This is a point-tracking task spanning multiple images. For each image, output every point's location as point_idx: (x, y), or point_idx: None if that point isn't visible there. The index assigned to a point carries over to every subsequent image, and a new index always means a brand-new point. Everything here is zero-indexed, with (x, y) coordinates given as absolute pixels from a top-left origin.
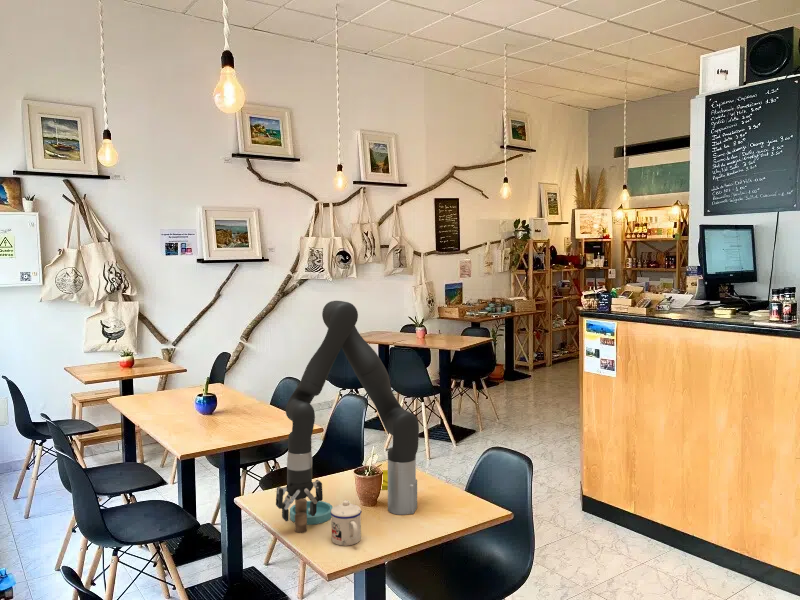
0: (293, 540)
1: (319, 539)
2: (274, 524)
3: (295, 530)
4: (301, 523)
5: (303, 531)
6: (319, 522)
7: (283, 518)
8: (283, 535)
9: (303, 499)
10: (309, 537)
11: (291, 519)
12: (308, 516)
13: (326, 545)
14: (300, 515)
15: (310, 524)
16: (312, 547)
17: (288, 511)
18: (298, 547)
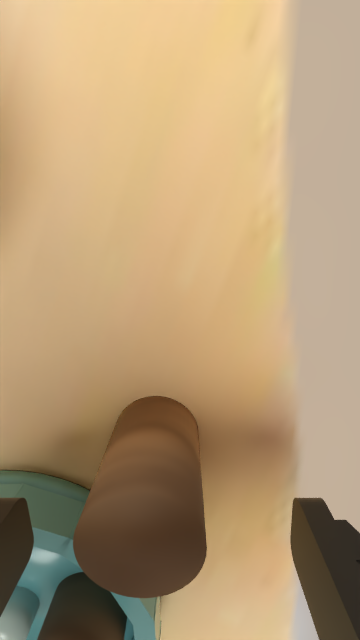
0: (263, 314)
1: (79, 231)
2: (272, 579)
3: (198, 439)
4: (160, 443)
5: (151, 400)
6: (2, 476)
7: (358, 542)
8: (291, 421)
9: None
10: (139, 304)
11: None
12: (55, 550)
13: (58, 84)
14: (149, 533)
15: (68, 483)
16: (180, 110)
17: (356, 626)
18: (281, 173)
